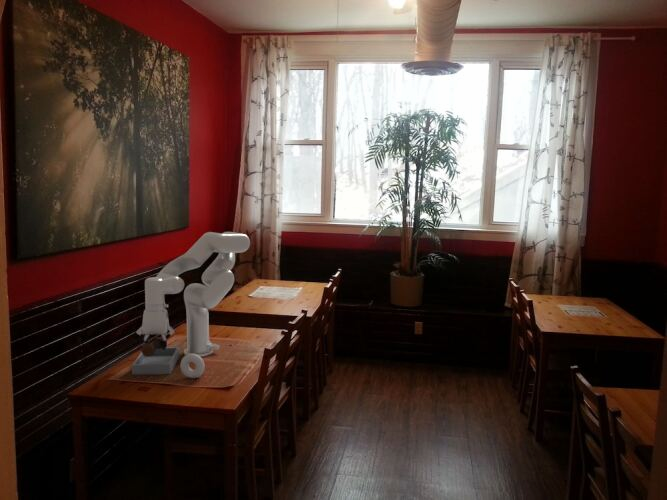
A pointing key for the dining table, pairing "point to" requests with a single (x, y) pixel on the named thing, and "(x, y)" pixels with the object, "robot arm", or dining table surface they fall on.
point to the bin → (156, 362)
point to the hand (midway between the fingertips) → (156, 348)
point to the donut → (187, 370)
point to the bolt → (152, 347)
